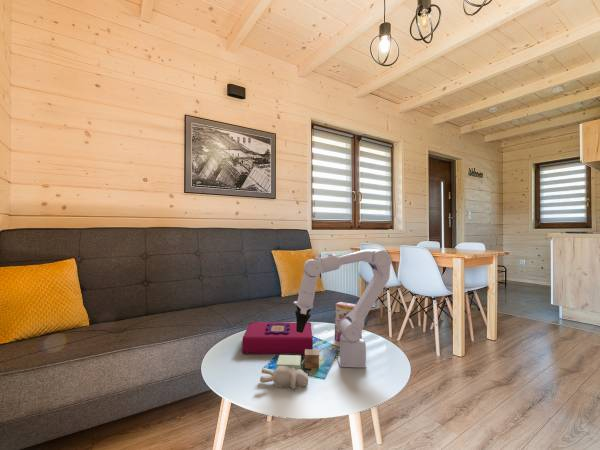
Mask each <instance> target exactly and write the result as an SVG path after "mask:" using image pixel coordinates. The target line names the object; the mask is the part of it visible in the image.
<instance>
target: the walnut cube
mask: <svg viewBox="0 0 600 450" xmlns="http://www.w3.org/2000/svg"><path fill="white" fill-rule="evenodd" d="M319 351H320V350H319V349H315V348H313V349H305V354H304V369H305V368H312V369H311V370H319V369H320V367H319V366H320V365H319V364H320V363H319V362H320V352H319Z"/></svg>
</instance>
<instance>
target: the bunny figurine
mask: <svg viewBox="0 0 600 450" xmlns="http://www.w3.org/2000/svg"><path fill="white" fill-rule="evenodd" d="M260 372H261V373H262V374H266V375H261V376H260V377H259V382H260V383H261V384H265V383H269V382H273V383H274V384H275V386H276V387H277V388H282V389H284V388H285V389H286V388H289V387H290V388H291V389H293V390H294V389H295V388H303V387H305V386H306V385H309V377H308V373H306V372H305V371H304V370H303V369H302V368H301V369H297V370H295V368H289V367H287V366H278V367H277V366H276V368H275V369H274V370H272V369H269V368H267V367H263V368H261V371H260Z"/></svg>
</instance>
